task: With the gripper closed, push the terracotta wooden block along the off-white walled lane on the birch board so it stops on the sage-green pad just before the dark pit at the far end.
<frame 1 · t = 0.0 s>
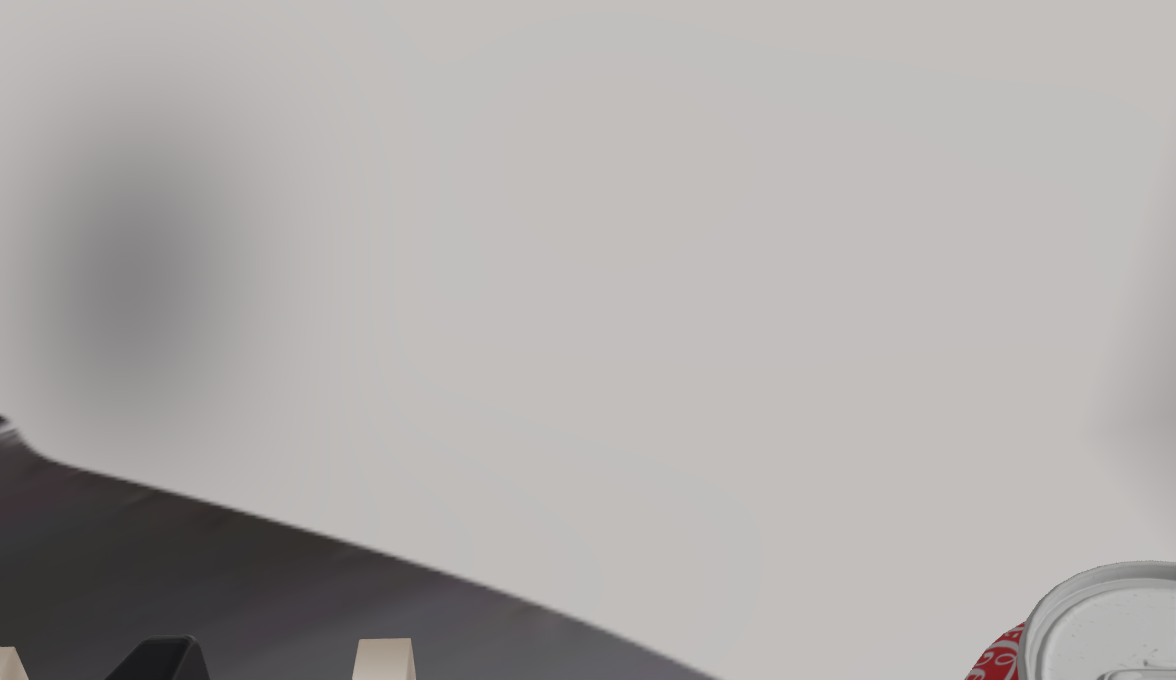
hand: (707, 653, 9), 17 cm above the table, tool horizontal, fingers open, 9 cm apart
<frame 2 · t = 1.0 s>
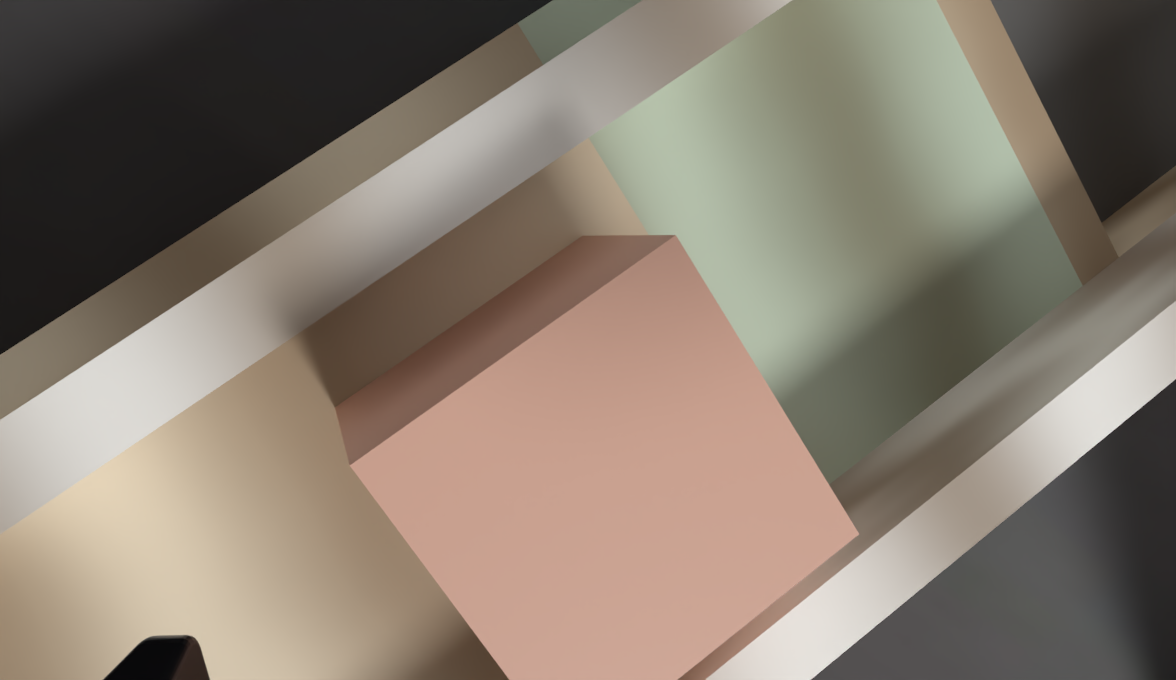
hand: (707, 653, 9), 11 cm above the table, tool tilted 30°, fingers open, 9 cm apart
lane board: (704, 285, 21), on the table
block: (543, 438, 18), point 2 cm above the table, touching lane board
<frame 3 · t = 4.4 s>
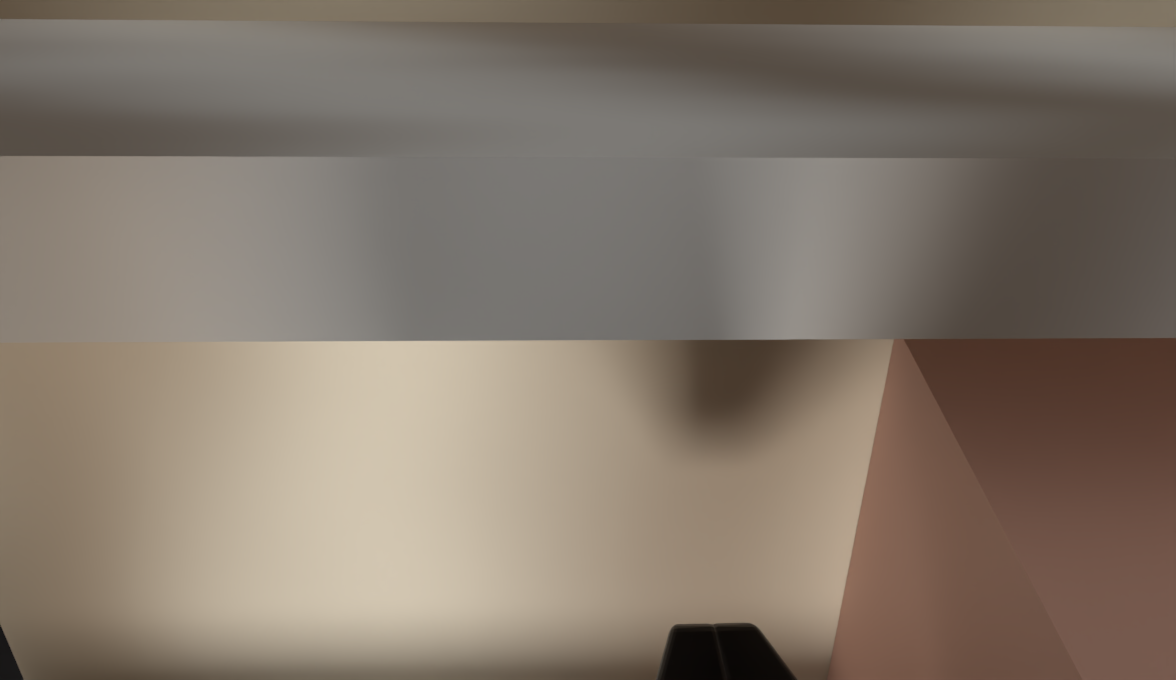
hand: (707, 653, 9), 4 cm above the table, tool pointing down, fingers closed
block: (1095, 525, 11), point 2 cm above the table, touching gripper
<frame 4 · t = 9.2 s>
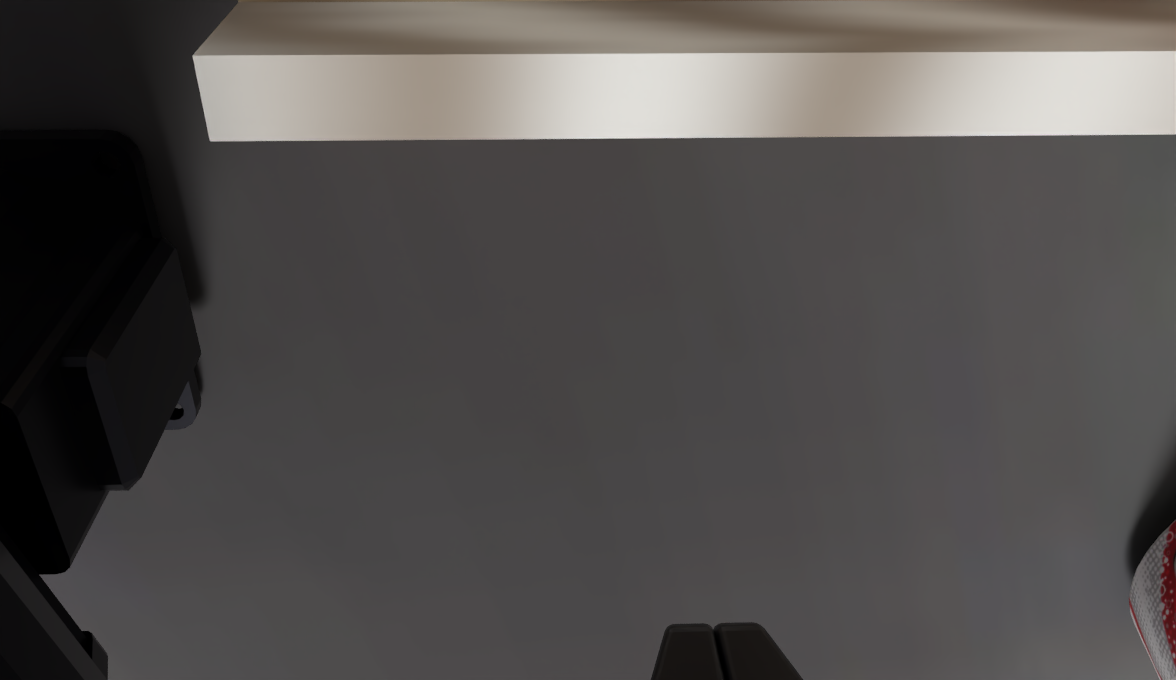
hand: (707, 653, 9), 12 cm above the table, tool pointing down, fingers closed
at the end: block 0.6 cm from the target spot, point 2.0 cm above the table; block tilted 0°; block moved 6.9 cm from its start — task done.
